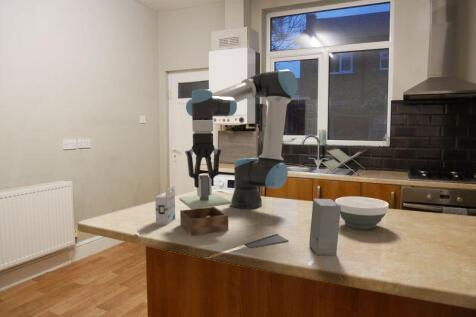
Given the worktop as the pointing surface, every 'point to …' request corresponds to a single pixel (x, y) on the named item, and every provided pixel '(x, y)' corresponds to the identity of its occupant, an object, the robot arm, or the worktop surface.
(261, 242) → the grey mat
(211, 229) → the walnut box
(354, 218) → the bowl
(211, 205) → the lid
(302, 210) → the worktop surface
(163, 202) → the ink box
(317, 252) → the skincare box
